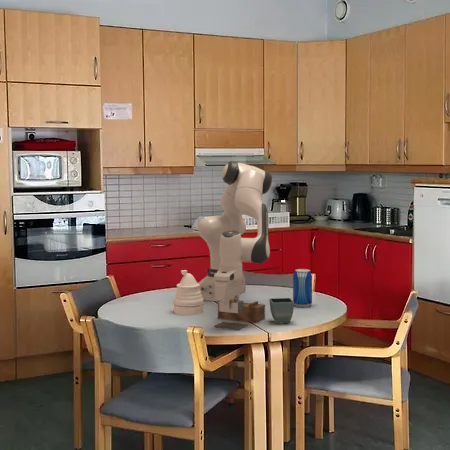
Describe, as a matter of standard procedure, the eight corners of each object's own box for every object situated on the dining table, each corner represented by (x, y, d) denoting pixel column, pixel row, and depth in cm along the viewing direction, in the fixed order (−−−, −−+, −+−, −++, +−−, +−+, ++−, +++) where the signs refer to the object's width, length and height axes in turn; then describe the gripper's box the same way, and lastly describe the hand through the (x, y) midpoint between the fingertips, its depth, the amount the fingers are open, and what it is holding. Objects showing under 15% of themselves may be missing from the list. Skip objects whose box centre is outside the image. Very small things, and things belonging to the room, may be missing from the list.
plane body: (217, 318, 283) (217, 299, 282) (225, 314, 289) (225, 295, 288) (257, 322, 275) (257, 302, 274) (264, 318, 281) (264, 299, 280)
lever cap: (219, 311, 267) (219, 299, 267) (225, 308, 272) (224, 297, 271) (237, 313, 264) (237, 301, 263) (243, 310, 268) (243, 299, 268)
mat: (213, 327, 267) (213, 325, 267) (222, 322, 274) (222, 321, 274) (238, 330, 262) (238, 328, 262) (247, 325, 270) (247, 324, 269)
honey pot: (181, 316, 287) (180, 273, 285) (169, 310, 298) (168, 269, 296) (208, 312, 292) (208, 271, 291) (195, 307, 304) (195, 267, 302)
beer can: (311, 308, 301) (311, 272, 299) (292, 307, 302) (292, 271, 301) (312, 304, 309) (312, 268, 307) (294, 303, 311) (294, 268, 309)
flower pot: (268, 319, 279) (268, 298, 279) (290, 319, 280) (290, 297, 279) (272, 325, 271) (272, 302, 270) (294, 324, 271) (294, 302, 271)
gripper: (235, 268, 277) (235, 302, 278) (211, 276, 259) (212, 312, 260) (249, 269, 274) (249, 303, 276) (226, 277, 256) (227, 314, 257)
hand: (231, 308), depth 268 cm, fingers closed on lever cap, 5 cm apart
